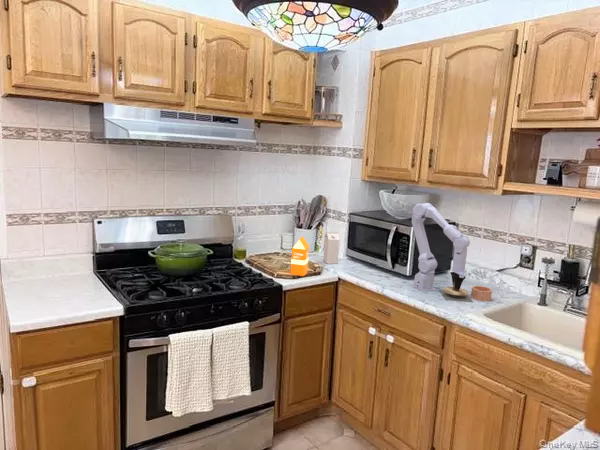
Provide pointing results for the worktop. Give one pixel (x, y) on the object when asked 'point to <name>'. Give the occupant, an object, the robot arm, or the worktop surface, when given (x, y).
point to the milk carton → (331, 248)
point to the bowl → (481, 293)
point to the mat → (455, 297)
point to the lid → (455, 291)
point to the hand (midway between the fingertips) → (456, 288)
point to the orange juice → (300, 258)
